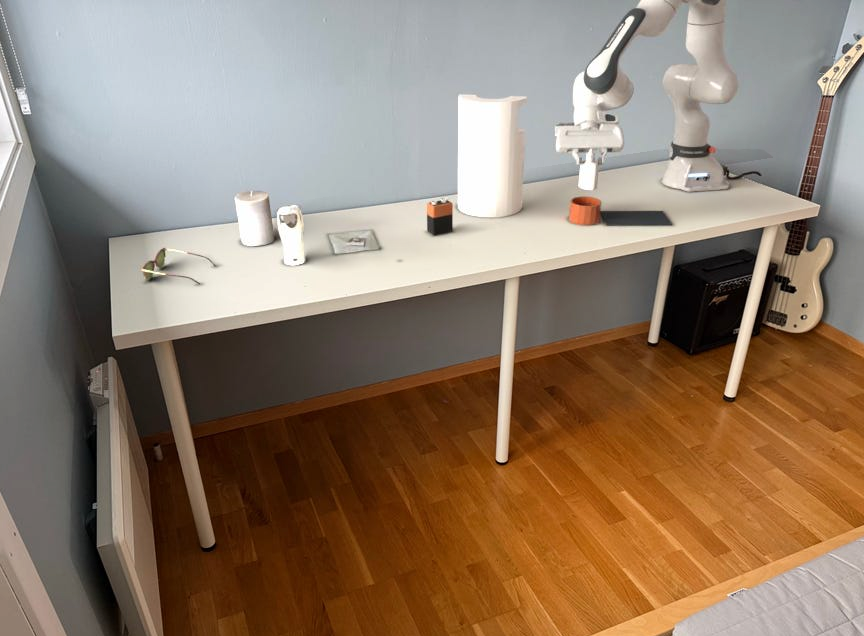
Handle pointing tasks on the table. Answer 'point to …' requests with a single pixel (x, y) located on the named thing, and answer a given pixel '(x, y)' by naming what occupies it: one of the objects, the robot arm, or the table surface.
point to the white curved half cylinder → (490, 156)
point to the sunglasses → (162, 264)
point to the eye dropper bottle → (589, 172)
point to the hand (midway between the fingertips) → (590, 164)
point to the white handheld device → (291, 233)
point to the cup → (585, 210)
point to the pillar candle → (254, 218)
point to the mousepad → (353, 241)
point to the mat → (635, 218)
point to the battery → (439, 217)
